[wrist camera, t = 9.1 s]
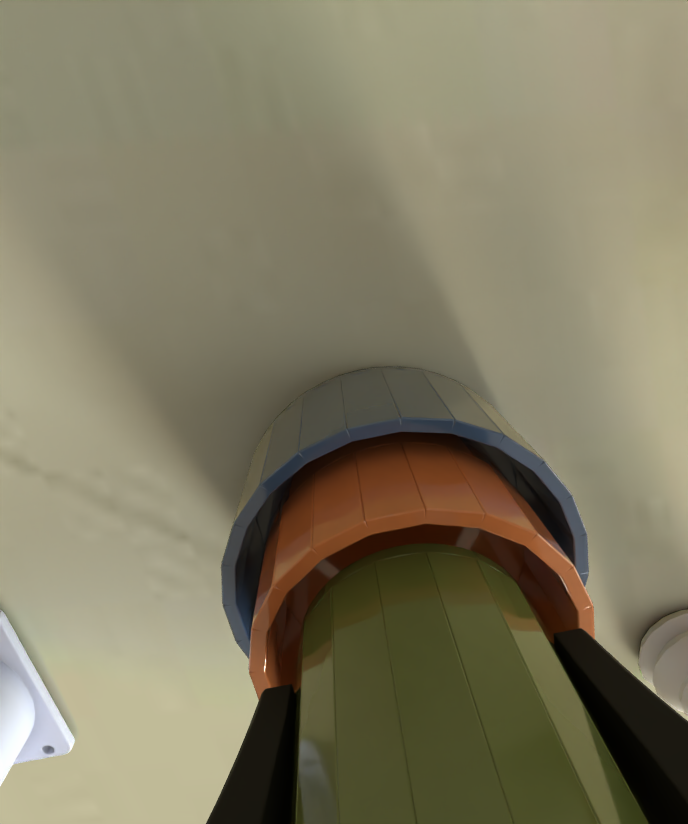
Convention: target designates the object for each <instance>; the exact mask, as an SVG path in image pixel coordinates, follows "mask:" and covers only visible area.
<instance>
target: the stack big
mask: <svg viewBox="0 0 688 824" xmlns="http://www.w3.org/2000/svg"><path fill="white" fill-rule="evenodd" d="M397 432H423V433H449V434H454V435H457V436H460V437H464V438H467V439H470V440H474V441H477V442H480V443H481V444H482V445H483V447H484V448H485V449H486V451H487V452H488V453H489V455H490V456H491V457H492V459H493V460H494V462H495V463H496V464H497V466H498V467H499V468H500V470H501V471H502V472H503V474H504V475H505V476H506V478H507V479H508V481H509V482H510V483H511V484H512V485H513V486H514V487H515V488H516V489H517V490H518V491H519V492H520V494H521V495H522V496H523V498H524V499H525V500H526V502H527V503H528V504H529V506H530V507H531V508H532V510H533V511H534V513H535V514H536V515H537V517H538V518H539V519H540V521H541V522H542V523H543V525H544V526H545V527H546V529H547V530H548V531H549V533H550V534H551V535H552V537H553V538H554V539H555V541H556V542H557V543H558V545H559V546H560V547H561V549H562V550H563V551H564V553H565V554H566V555H567V557H568V558H569V559H570V561H571V562H572V563H573V565H574V566H575V568H576V570H577V572H578V574H579V576H580V578H581V580H582V582H583V584H584V587H585V585H586V582H587V578H588V572H589V566H588V541H587V531H586V528H585V526H584V523H583V521H582V518H581V515H580V513H579V510H578V508H577V505H576V502H575V500H574V497H573V495H572V494H571V492H570V491H569V489H568V488H567V487H566V486H565V485H564V483H563V482H562V481H561V480H560V479H559V477H558V476H557V475H556V474H555V473H554V471H553V470H552V469H551V468H550V466H549V465H548V464H547V463H546V462H545V461H544V460H543V458H542V457H541V456H540V455H539V454H538V453H537V452H536V451H535V450H534V449H533V448H532V447H531V446H530V445H529V444H528V443H527V442H526V441H525V440H524V439H523V438H522V436H521V435H520V434H519V433H518V432H517V431H516V430H515V429H514V428H513V427H512V426H511V425H510V424H509V423H508V422H507V421H506V420H505V419H504V418H503V417H502V416H501V414H500V413H499V412H498V411H497V410H496V409H495V408H494V407H493V406H492V405H491V404H490V403H489V402H487V401H486V400H484V399H483V398H482V397H480V396H479V395H478V394H476V393H475V392H474V391H473V390H471V389H469V388H468V387H466V386H464V385H462V384H461V383H459V382H457V381H455V380H453V379H450V378H448V377H445V376H443V375H440V374H438V373H434V372H430V371H426V370H421V369H416V368H407V367H376V368H369V369H362V370H357V371H354V372H350V373H346V374H343V375H339V376H337V377H335V378H332V379H330V380H328V381H325V382H323V383H321V384H319V385H317V386H316V387H314V388H312V389H310V390H309V391H307V392H305V393H304V394H303V395H301V396H300V397H299V398H297V399H296V400H295V401H293V402H292V403H291V404H290V405H289V406H288V407H287V408H286V409H285V410H284V411H283V412H282V413H281V414H280V415H279V416H278V417H277V418H276V419H275V420H274V422H273V423H272V424H271V426H270V427H269V428H268V430H267V431H266V432H265V434H264V436H263V438H262V440H261V441H260V443H259V445H258V447H257V449H256V450H255V453H254V455H253V459H252V462H251V465H250V469H249V472H248V475H247V479H246V482H245V485H244V489H243V492H242V495H241V499H240V502H239V506H238V509H237V512H236V516H235V519H234V522H233V526H232V529H231V533H230V536H229V539H228V543H227V546H226V549H225V553H224V556H223V560H222V564H221V576H222V604H223V608H224V610H225V613H226V616H227V619H228V621H229V624H230V627H231V630H232V632H233V635H234V638H235V641H236V642H237V644H238V645H239V647H240V648H241V649H242V651H243V652H244V653H245V655H246V656H247V657H248V659H249V655H250V639H251V627H252V621H253V616H254V610H255V604H256V598H257V593H258V587H259V581H260V575H261V570H262V564H263V558H264V552H265V547H266V542H267V538H268V536H269V530H270V525H271V519H272V513H273V507H274V501H275V495H276V489H277V488H278V487H279V486H280V485H282V484H283V483H284V482H285V481H286V480H288V479H289V478H290V477H291V476H292V475H294V474H295V473H296V472H297V471H298V470H300V469H301V468H302V467H303V466H304V465H306V464H307V463H308V462H310V461H312V460H315V459H317V458H319V457H321V456H323V455H325V454H327V453H329V452H331V451H333V450H336V449H338V448H340V447H342V446H344V445H346V444H348V443H350V442H353V441H358V440H363V439H368V438H373V437H378V436H382V435H387V434H392V433H397Z"/></svg>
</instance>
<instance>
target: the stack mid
mask: <svg viewBox="0 0 688 824" xmlns="http://www.w3.org/2000/svg"><path fill="white" fill-rule="evenodd" d="M414 543H437V544H447V545H452V546H457V547H462V548H465V549H468V550H471V551H474V552H477V553H479V554H481V555H483V556H485V557H487V558H489V559H491V560H492V561H494V562H495V563H497V564H498V565H500V566H501V567H503V568H504V569H505V570H506V571H507V572H508V573H509V574H510V575H512V576H513V578H514V579H515V580H516V581H517V583H518V584H519V585H520V586H521V588H522V590H523V592H524V593H525V595H526V597H527V599H528V600H529V602H530V603H531V605H532V606H533V607H534V609H535V610H536V612H537V613H538V615H539V617H540V619H541V621H542V622H543V624H544V626H545V628H546V630H547V631H548V633H549V635H550V637H551V638H552V640H553V642H554V634H553V633H558V632H564V631H569V630H574V629H579V628H582V629H583V630H585V631H586V632H587V633H588V634H589V635H590V636H592V637H593V638H594V639H595V633H594V607H593V603H592V601H591V599H590V597H589V595H588V593H587V591H586V589H585V587H584V584H583V582H582V580H581V578H580V576H579V574H578V572H577V570H576V568H575V566H574V565H573V563H572V562H571V561H570V559H569V558H568V557H567V555H566V554H565V553H564V551H563V550H562V549H561V547H560V546H559V545H558V543H557V542H556V541H555V539H554V538H553V537H552V535H551V534H550V533H549V531H548V530H547V529H546V527H545V526H544V525H543V523H542V522H541V521H540V519H539V518H538V517H537V515H536V514H535V513H534V511H533V510H532V508H531V507H530V506H529V504H528V503H527V502H526V500H525V499H524V498H523V496H522V495H521V494H520V492H519V491H518V490H517V489H516V488H515V487H514V486H513V485H512V484H511V483H510V482H509V481H508V479H507V478H506V476H505V475H504V474H503V472H502V471H501V470H500V468H499V467H498V466H497V464H496V463H495V462H494V460H493V459H492V457H491V456H490V455H489V453H488V452H487V451H486V449H485V448H484V447H483V445H482V444H481V443H480V442H477V441H474V440H470V439H467V438H464V437H460V436H457V435H454V434H449V433H423V432H397V433H392V434H387V435H382V436H378V437H373V438H368V439H363V440H358V441H353V442H350V443H348V444H346V445H344V446H342V447H340V448H338V449H336V450H333V451H331V452H329V453H327V454H325V455H323V456H321V457H319V458H317V459H315V460H312V461H310V462H308V463H307V464H306V465H304V466H303V467H302V468H301V469H300V470H298V471H297V472H296V473H295V474H294V475H292V476H291V477H290V478H289V479H288V480H286V481H285V482H284V483H283V484H282V485H280V486H279V487H278V488H277V489H276V495H275V501H274V507H273V513H272V519H271V525H270V530H269V536H268V538H267V542H266V547H265V552H264V558H263V564H262V570H261V575H260V581H259V587H258V593H257V598H256V604H255V610H254V616H253V621H252V627H251V639H250V655H249V674H250V677H251V679H252V682H253V685H254V688H255V690H256V693H257V696H258V699H260V696H261V694H262V692H263V691H264V690H265V689H267V688H272V687H277V686H283V685H288V684H292V686H293V689H294V692H295V674H296V658H297V654H298V649H299V638H300V630H301V626H302V623H303V619H304V616H305V614H306V612H307V610H308V608H309V606H310V604H311V602H312V601H313V599H314V598H315V596H316V595H317V593H318V592H319V591H320V590H321V589H322V587H323V586H324V585H325V584H326V583H327V582H328V581H329V580H330V579H331V578H332V577H334V576H335V575H336V574H337V573H338V572H339V571H341V570H342V569H344V568H345V567H347V566H348V565H350V564H351V563H353V562H355V561H357V560H359V559H361V558H363V557H365V556H367V555H369V554H372V553H375V552H377V551H380V550H383V549H387V548H391V547H395V546H400V545H407V544H414Z"/></svg>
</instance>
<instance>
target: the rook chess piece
mask: <svg viewBox="0 0 688 824" xmlns="http://www.w3.org/2000/svg"><path fill="white" fill-rule="evenodd" d="M638 665H639V668H640V670H641V673H642V676H643V678H644V679H645V680H647V681H648V682H649V683H650V684H652V685H653V686H654V687H655V690H656V692H657V695H658V696H660V697H661V698H662V699H663V700H664V701H666V702H667V703H668V704H669V705H671V706H672V707H673V708H675V709H676V710H678V711H682V712H684V713H685V714H686V715H687V716H688V610H680V611H678V612H675V613H672V614H670V615H667V616H665V617H663V618H662V619H661V620H659V621H658V622H657V623H655V624H654V625H653V626H652V627H650V629H649V630H648V632H647V633H646V635H645V636H644V638H643V639H642V641H641V646H640V652H639V661H638Z"/></svg>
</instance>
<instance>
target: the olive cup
mask: <svg viewBox="0 0 688 824" xmlns="http://www.w3.org/2000/svg"><path fill="white" fill-rule="evenodd" d="M294 693H295V699H294V717H293V735H292V748H291V763H290V781H289V798H288V816H287V824H655V822H654V820H653V818H652V817H651V815H650V813H649V811H648V810H647V808H646V806H645V804H644V802H643V801H642V799H641V797H640V795H639V793H638V792H637V790H636V788H635V786H634V785H633V783H632V781H631V779H630V777H629V776H628V774H627V772H626V770H625V769H624V767H623V765H622V763H621V761H620V760H619V758H618V756H617V754H616V752H615V751H614V749H613V747H612V745H611V744H610V742H609V740H608V738H607V736H606V735H605V733H604V731H603V729H602V728H601V726H600V724H599V722H598V720H597V719H596V717H595V715H594V713H593V711H592V710H591V708H590V706H589V704H588V703H587V701H586V699H585V697H584V696H583V694H582V692H581V690H580V689H579V687H578V685H577V684H576V682H575V680H574V678H573V676H572V675H571V673H570V671H569V669H568V667H567V666H566V664H565V662H564V660H563V659H562V657H561V655H560V653H559V651H558V650H557V648H556V646H555V644H554V642H553V640H552V638H551V637H550V635H549V633H548V631H547V630H546V628H545V626H544V624H543V622H542V621H541V619H540V617H539V615H538V613H537V612H536V610H535V609H534V607H533V606H532V605H531V603H530V602H529V600H528V599H527V597H526V595H525V593H524V592H523V590H522V588H521V586H520V585H519V584H518V583H517V581H516V580H515V579H514V578H513V576H512V575H510V574H509V573H508V572H507V571H506V570H505V569H504V568H503V567H501V566H500V565H498V564H497V563H495V562H494V561H492V560H491V559H489V558H487V557H485V556H483V555H481V554H479V553H477V552H474V551H471V550H468V549H465V548H462V547H457V546H452V545H447V544H437V543H414V544H407V545H400V546H395V547H391V548H387V549H383V550H380V551H377V552H375V553H372V554H369V555H367V556H365V557H363V558H361V559H359V560H357V561H355V562H353V563H351V564H350V565H348V566H347V567H345V568H344V569H342V570H341V571H339V572H338V573H337V574H336V575H335V576H334V577H332V578H331V579H330V580H329V581H328V582H327V583H326V584H325V585H324V586H323V587H322V589H321V590H320V591H319V592H318V593H317V595H316V596H315V598H314V599H313V601H312V602H311V604H310V606H309V608H308V610H307V612H306V614H305V616H304V619H303V623H302V626H301V630H300V638H299V649H298V654H297V658H296V674H295V692H294Z"/></svg>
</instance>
